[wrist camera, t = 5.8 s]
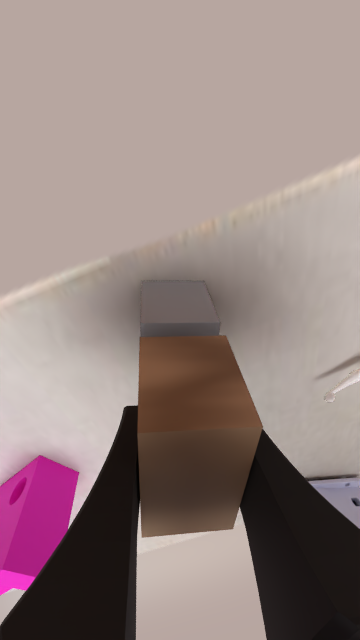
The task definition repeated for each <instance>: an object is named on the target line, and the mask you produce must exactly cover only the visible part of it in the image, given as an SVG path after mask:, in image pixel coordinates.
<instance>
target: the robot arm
mask: <svg viewBox="0 0 360 640" xmlns="http://www.w3.org/2000/svg"><path fill="white" fill-rule="evenodd" d="M137 432H138V406H126V407H125V408H124V410H123V415H122V419H121V422H120V425H119V429H118V431H117V434H116V437H115V439H114V442H113V444H112V447H111V449H110V452H109V454H108V456H107V459H106V461H105V463H104V465H103V467H102V469H101V471H100V473H99V475H98V478H97V480H96V482H95V484H94V485H93V487H92V489H91V491H90V493H89V495H88V497H87V499H86V500H85V502H84V504H83V506H82V507H81V509H80V511H79V512H78V514H77V516H76V517H75V519H74V521H73V522H72V524H71V526H70V527H69V529H68V531H67V532H66V534H65V535H64V537H63V538H62V540H61V542H60V543H59V545H58V546H57V547H56V549H55V550H54V552H53V553H52V555H51V556H50V558H49V559H48V561H47V562H46V564H45V565H44V566H43V568H42V569H41V571H40V572H39V574H38V575H37V577H36V578H35V579H34V581H33V582H32V583H31V585H30V586H29V587H28V589H27V590H26V592H25V593H24V594H23V595H22V597H21V598H20V600H19V601H18V602H17V603H16V605H15V606H14V607H13V609H12V610H11V611H10V613H9V614H8V615H7V617H6V618H5V619H4V621H3V622H2V624H1V625H0V640H136V565H137V563H136V562H137V560H136V558H137V529H138V517H139V505H140V482H139V458H138V434H137ZM359 486H360V479H359V478H343V479H330V480H317V481H307V480H306V479H305V478H304V477H303V476H302V475H301V474H300V473H299V472H298V470H297V469H296V468H295V467H294V466H293V465H292V464H291V463H290V462H289V460H288V459H287V458H286V457H285V456H284V455H283V453H282V452H281V451H280V450H279V449H278V448H277V446H276V445H275V444H274V443H273V441H272V440H271V439H270V438H269V436H268V435H267V434H266V433H265V431H264V430H263V429H262V431H261V435H260V438H259V442H258V445H257V448H256V452H255V455H254V459H253V462H252V465H251V469H250V472H249V476H248V479H247V482H246V486H245V489H244V493H243V496H242V500H241V503H240V509H241V513H242V516H243V520H244V523H245V527H246V531H247V536H248V541H249V546H250V551H251V556H252V561H253V565H254V571H255V576H256V581H257V586H258V592H259V597H260V603H261V609H262V614H263V620H264V625H265V631H266V638H267V640H360V487H359Z"/></svg>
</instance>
